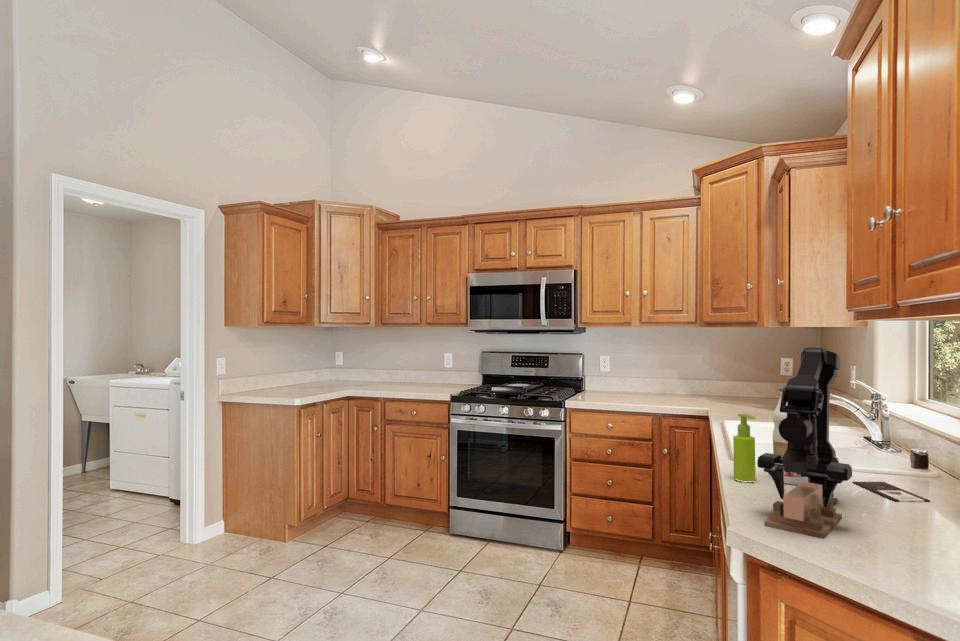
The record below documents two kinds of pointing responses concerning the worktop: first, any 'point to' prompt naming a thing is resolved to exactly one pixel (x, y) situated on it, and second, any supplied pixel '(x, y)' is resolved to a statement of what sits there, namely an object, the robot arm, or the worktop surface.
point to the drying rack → (814, 525)
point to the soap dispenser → (744, 451)
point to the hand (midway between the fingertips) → (803, 502)
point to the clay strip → (802, 501)
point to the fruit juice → (783, 445)
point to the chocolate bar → (891, 492)
